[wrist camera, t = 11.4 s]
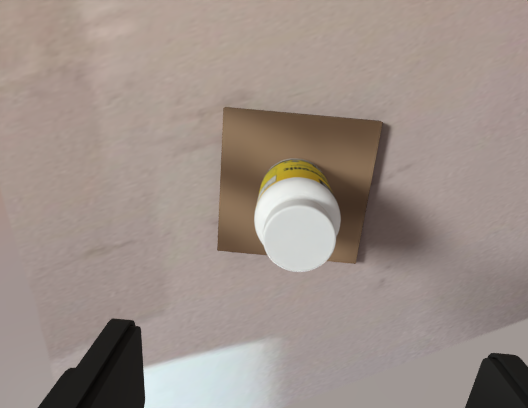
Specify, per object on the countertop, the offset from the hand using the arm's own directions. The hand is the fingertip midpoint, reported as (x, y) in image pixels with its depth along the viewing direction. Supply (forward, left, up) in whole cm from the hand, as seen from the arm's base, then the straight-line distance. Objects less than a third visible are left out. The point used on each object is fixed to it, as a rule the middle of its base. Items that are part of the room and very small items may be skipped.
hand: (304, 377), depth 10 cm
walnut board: (+1, +1, -20) cm, 20 cm away
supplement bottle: (0, +1, -20) cm, 20 cm away
